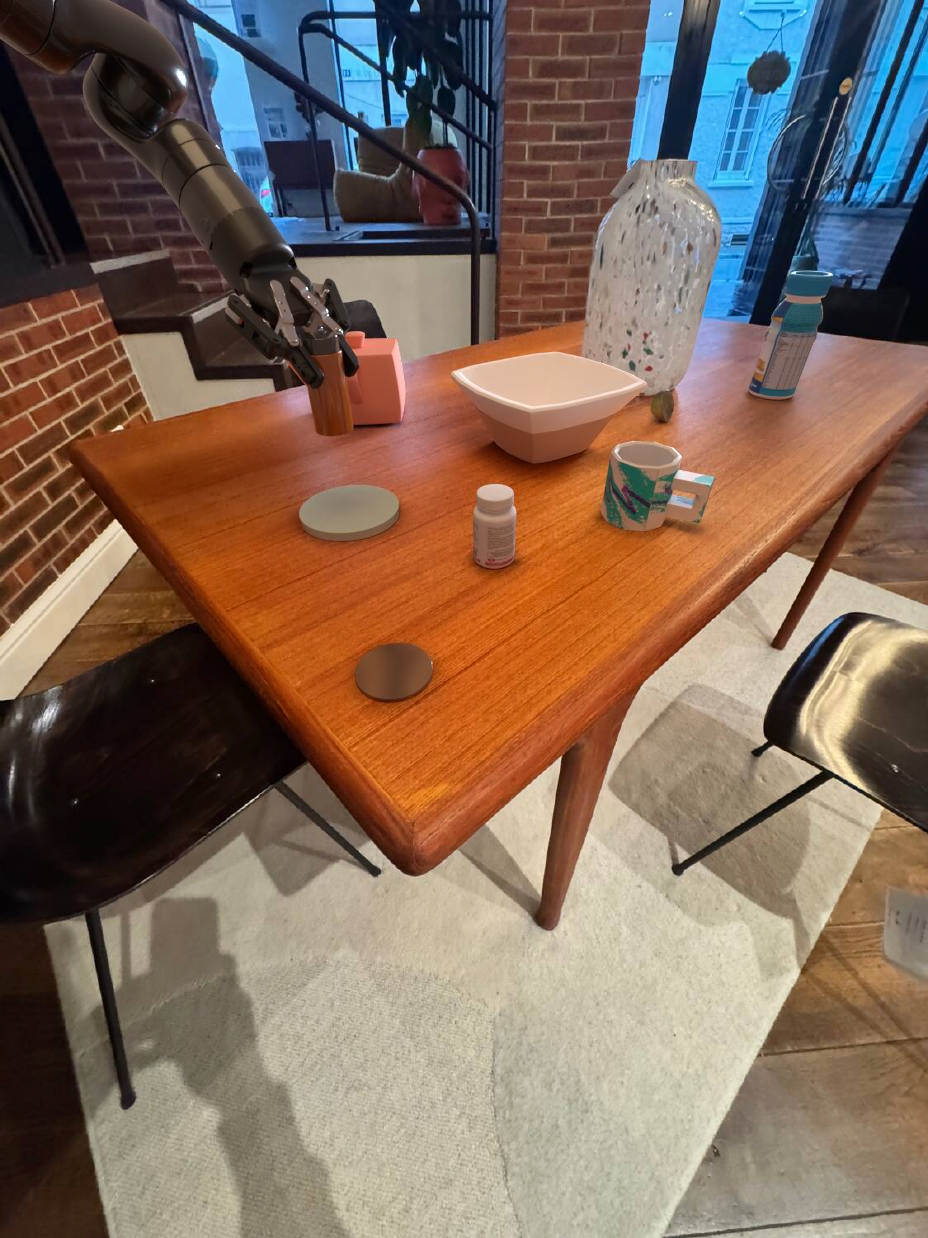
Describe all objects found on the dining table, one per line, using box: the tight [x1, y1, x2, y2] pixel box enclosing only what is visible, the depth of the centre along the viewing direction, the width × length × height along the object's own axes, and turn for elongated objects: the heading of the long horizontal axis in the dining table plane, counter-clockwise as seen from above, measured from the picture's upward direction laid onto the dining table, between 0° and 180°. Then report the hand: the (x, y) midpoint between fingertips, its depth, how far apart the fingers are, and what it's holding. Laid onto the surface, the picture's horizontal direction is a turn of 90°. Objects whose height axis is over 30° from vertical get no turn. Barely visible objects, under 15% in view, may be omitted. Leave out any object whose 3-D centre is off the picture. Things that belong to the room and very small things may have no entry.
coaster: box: [354, 642, 434, 703], centre depth 47 cm, size 7×7×1 cm
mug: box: [600, 440, 716, 532], centre depth 64 cm, size 8×12×8 cm
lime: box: [649, 389, 675, 422], centre depth 92 cm, size 4×5×5 cm
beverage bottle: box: [748, 270, 834, 401], centre depth 96 cm, size 8×8×20 cm
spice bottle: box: [298, 330, 354, 437], centre depth 58 cm, size 4×4×10 cm
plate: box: [298, 484, 401, 542], centre depth 69 cm, size 13×13×1 cm
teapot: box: [285, 330, 406, 426], centre depth 93 cm, size 20×22×14 cm
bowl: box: [450, 351, 648, 465], centre depth 82 cm, size 24×25×11 cm
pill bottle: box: [472, 483, 517, 570], centre depth 58 cm, size 5×5×8 cm
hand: (336, 377), depth 57 cm, fingers closed on spice bottle, 4 cm apart
